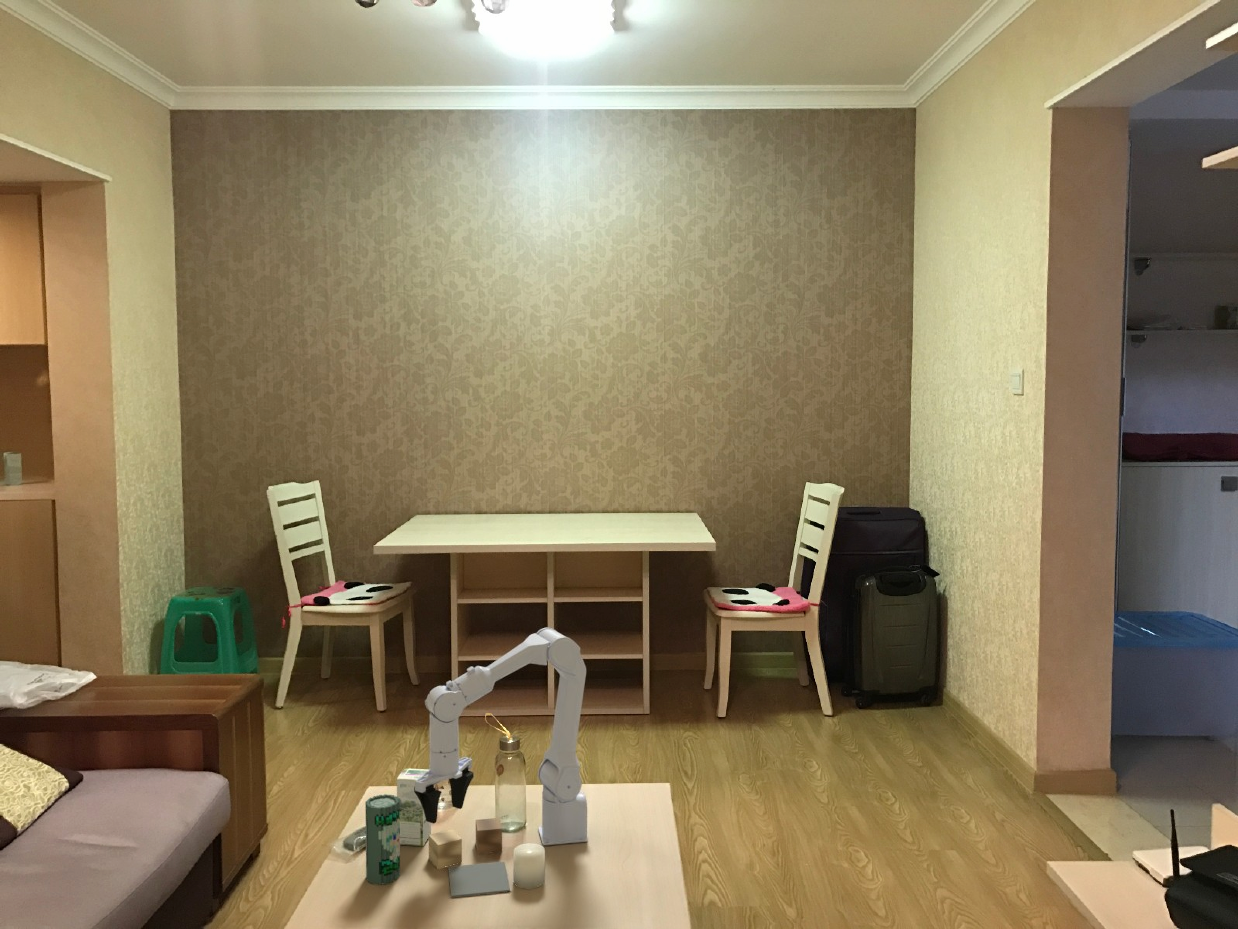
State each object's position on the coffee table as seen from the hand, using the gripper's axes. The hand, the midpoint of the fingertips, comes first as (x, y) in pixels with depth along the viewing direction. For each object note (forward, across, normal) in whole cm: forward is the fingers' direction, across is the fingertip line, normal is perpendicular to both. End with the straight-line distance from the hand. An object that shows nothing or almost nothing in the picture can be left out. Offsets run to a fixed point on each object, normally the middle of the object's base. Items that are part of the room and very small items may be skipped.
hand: (444, 814), depth 190 cm
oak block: (+10, 0, 0) cm, 10 cm away
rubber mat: (+10, -2, -10) cm, 14 cm away
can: (+10, -11, +6) cm, 16 cm away
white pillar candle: (+10, +4, -18) cm, 21 cm away
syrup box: (+10, +3, +12) cm, 16 cm away
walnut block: (+10, +10, -3) cm, 14 cm away
